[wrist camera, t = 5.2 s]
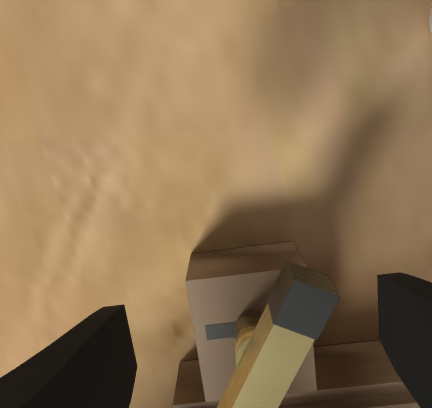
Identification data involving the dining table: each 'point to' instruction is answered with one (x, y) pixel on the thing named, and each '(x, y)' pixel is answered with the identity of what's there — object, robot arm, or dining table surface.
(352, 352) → the case
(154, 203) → the dining table surface
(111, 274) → the dining table surface
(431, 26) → the elephant figurine
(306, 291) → the lever
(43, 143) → the dining table surface
